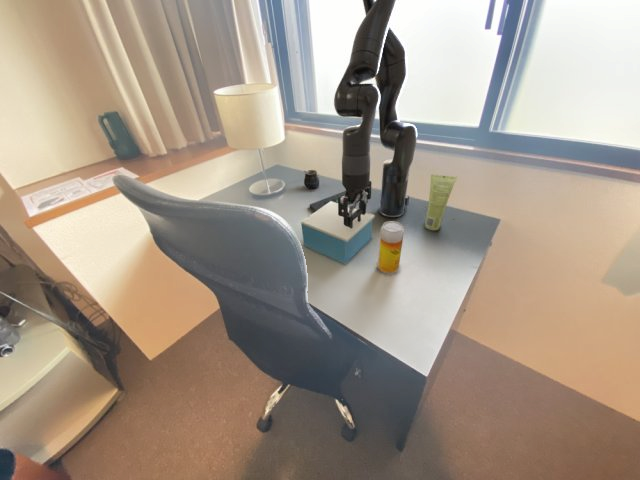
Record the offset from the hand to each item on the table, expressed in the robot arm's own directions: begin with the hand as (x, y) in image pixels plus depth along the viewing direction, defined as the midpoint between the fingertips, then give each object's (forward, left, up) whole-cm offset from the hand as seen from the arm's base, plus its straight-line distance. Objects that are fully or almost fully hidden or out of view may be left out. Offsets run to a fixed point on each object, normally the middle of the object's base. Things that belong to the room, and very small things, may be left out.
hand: (355, 219), depth 83 cm
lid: (0, -6, -3) cm, 7 cm away
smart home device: (-21, -24, -12) cm, 34 cm away
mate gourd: (-28, -42, -12) cm, 52 cm away
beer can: (+2, +13, -12) cm, 18 cm away
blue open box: (0, -7, -12) cm, 13 cm away
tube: (-26, +16, -12) cm, 33 cm away
